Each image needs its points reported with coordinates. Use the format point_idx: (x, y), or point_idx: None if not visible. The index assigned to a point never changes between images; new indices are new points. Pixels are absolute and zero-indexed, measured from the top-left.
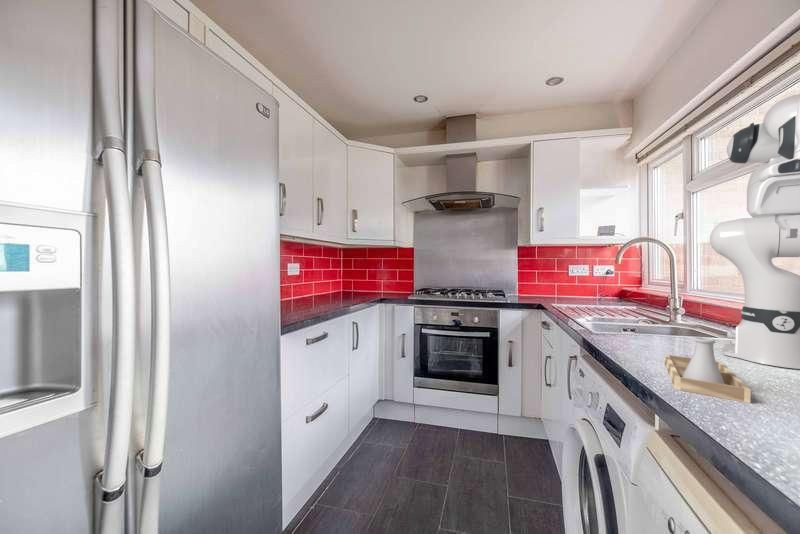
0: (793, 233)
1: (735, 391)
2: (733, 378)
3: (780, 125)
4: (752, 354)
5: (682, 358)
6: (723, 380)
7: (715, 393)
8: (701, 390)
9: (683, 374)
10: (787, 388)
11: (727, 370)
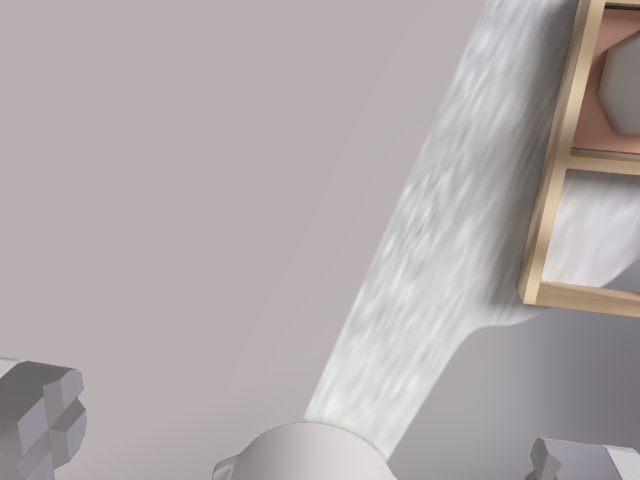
0: (588, 464)
1: None
2: (577, 115)
3: None
4: (372, 471)
5: (632, 304)
6: (630, 57)
7: None
8: None
9: None
10: (404, 214)
11: (556, 200)
